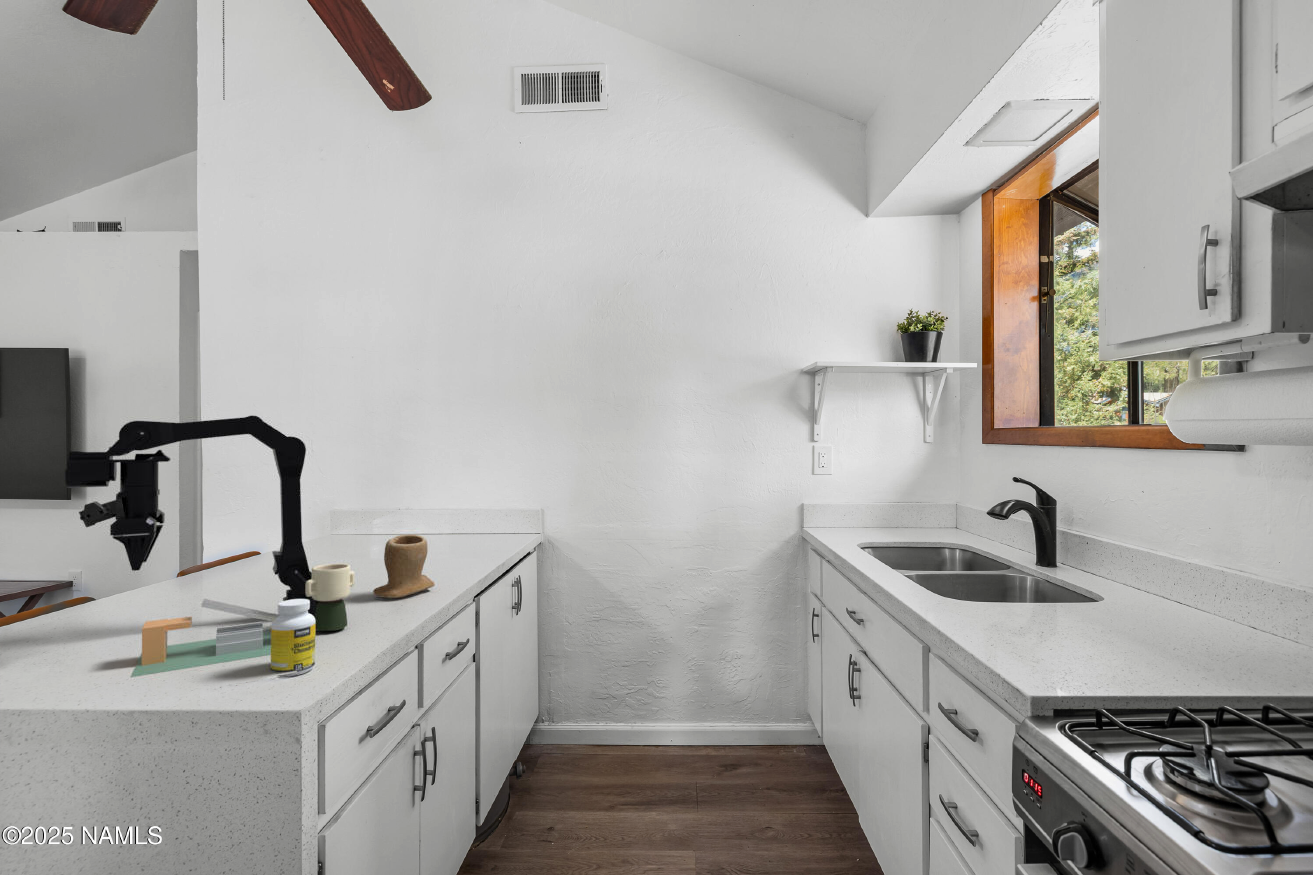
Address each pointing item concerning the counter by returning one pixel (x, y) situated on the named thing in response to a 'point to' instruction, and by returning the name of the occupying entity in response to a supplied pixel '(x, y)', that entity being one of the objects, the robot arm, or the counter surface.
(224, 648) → the heatsink board
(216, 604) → the flat grey bar
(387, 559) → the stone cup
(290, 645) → the pill bottle
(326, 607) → the character mug
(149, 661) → the orange stepped block
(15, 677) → the counter surface
